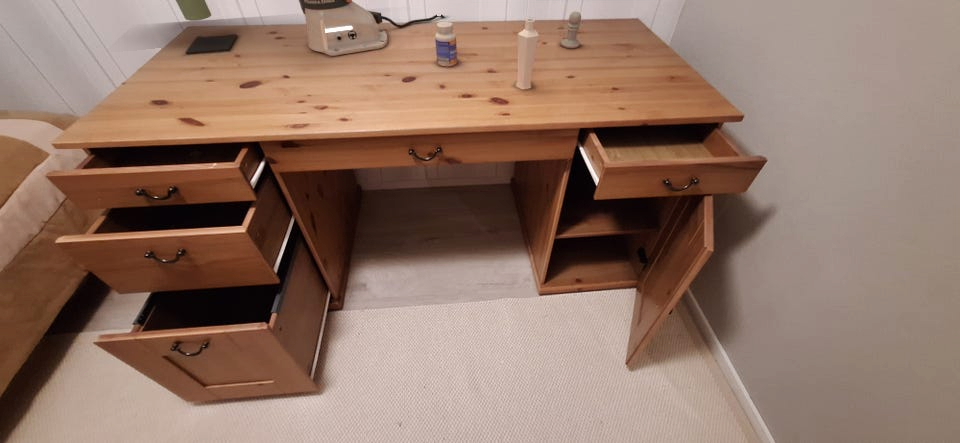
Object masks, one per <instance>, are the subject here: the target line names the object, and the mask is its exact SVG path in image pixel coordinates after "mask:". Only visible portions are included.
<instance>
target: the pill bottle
mask: <svg viewBox="0 0 960 443" xmlns="http://www.w3.org/2000/svg"><path fill="white" fill-rule="evenodd" d="M436 30H437V32H436V33H435V35H434V42H435V52H436V53H435V54H436V63H437V64H438V65H439V66H441V67H453V66H455V65H457V63H458V49H457V34H456V33H455V32H454V25H453V23H452V22H451V21H440V22H437V23H436Z"/></svg>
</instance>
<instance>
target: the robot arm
mask: <svg viewBox="0 0 960 443" xmlns="http://www.w3.org/2000/svg"><path fill="white" fill-rule="evenodd" d="M298 3H299V7H300V9H301V11H302V14H303V15H304V19H305V23H306V28H307V29H306V32H307V38H308V39H307V40H308V41H307V42H308V45H307V46H308V48H309V49H310V50H312V51H315V52H318V53H322V54H325V55H328V56H330V57H336V56H341V55H348V54H354V53H360V52H365V51H374V50H377V49H382V48H384V47H386V45H387V44H388V43H389V38H388V34H387V31H386V30H384V29H383V28H381V27H379V26H378V25H380V24H382V23H383V20H385V21H387V22H389V23H390V24H391V25H393V26H394V27H396V28H398V29H399V28H401V29H402V28H406V27H408V26H409V25H412V24H418V23H425V22H431V21H433V20H435V19H437V18H442V19H446V17H445V16H444V15H443V14H441V16H437V14H435V15H433V16H431V17H428V18H421V19H420V18H419V19H413V20H410V21H408V22H406V23H404V24H398V23H396V22H395V21H394V20H392V19H390V18H389V17H386V16H383V15H382V12H378V11H371V10H367V9H365V8H364V7H362V6H361V5H359V4H357V3H356V2H354V0H298Z"/></svg>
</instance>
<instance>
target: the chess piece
mask: <svg viewBox="0 0 960 443" xmlns="http://www.w3.org/2000/svg"><path fill="white" fill-rule="evenodd" d="M581 20H582V14H581V13H580V12H579V11H576V10H575V11H573V12H571V13H570V14H569V17H568V23H567V26H566V30H567V34H566V37H565V38H564V39H562V40H561V41H560V45H561V46H562V48H566V49H576V48H578V47H579V46H580V42H579V40H578V39H577V36H578V31H579V30H580V27H581V25H580V23H581Z"/></svg>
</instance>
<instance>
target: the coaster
mask: <svg viewBox="0 0 960 443" xmlns="http://www.w3.org/2000/svg"><path fill="white" fill-rule="evenodd" d="M237 39H238V34H237V33H236V34H226V35H225V34H223V35H210V36H197V37H196V38H195V39H194V40H193V42H192V43H191V44H190V46H189V47H188V48H187V49H186V51H185V54H186V55H197V54H209V53H211V54H212V53H223V52H230V51H231V49H232V48H233V46H234V44H235V42H236V40H237Z"/></svg>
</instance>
